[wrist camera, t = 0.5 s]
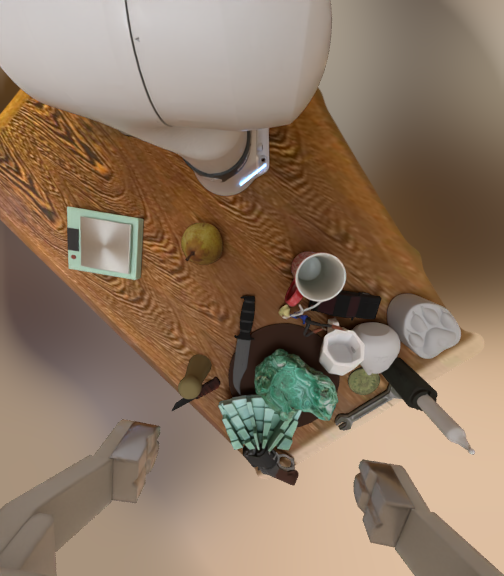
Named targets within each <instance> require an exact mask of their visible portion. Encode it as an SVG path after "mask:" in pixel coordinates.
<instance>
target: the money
mask: <svg viewBox="0 0 504 576" xmlns="http://www.w3.org/2000/svg"><path fill="white" fill-rule="evenodd" d="M218 406H219V409H220V411H221V413H222V415H223V419H222V421H223V423H224V425H225V427H226V431H227V433H228V435H229V438H230V440H231V444H232V446H233V448H234V450H236V449H240V448H243V444H245V445H246V446H247V448H248V449H255V445H256V446H257V449H258V450H260V449H259V442H262V448H265V446H266V444H267V445H268V451H272V449H273V448H274V447H275V446H277V449H284V450H289V448H290V446H291V444H292V436H293V434H294V432H295V429H296V427H297V425H298V418H299V416H300V414H301V412H302V411H301V410H298V412H297V413H295V414H294V416H293V417H292V418H291V419H289V420H288V421H287V422H286V421H282V420H281V419H280V418H279V416H278V413H277V412H276V411H274V410H272V409H271V408H270V407H269V406H268V405H267V404H266V403H265V401H264V400H263V398H262V397H261V396H259V395H248V396H247V395H245V396H238V397H233V398H231V399H228V400H224V401H221V402H219V405H218Z"/></svg>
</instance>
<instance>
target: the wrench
mask: <svg viewBox="0 0 504 576" xmlns="http://www.w3.org/2000/svg"><path fill="white" fill-rule="evenodd" d="M393 398H398V399H402V398H401V397H400V395H399V394H398V393H397V392H396V391H395V389H394V388H393V387H392V386H391V384H390V383H389V386H388V389H387V391H385V392H384V393H382V394H380V395H379V396H377V397H375V398H374V399H372V400H370V401H369V402H367V403H365V404H364V405H362V406H360V407H359V408H357V409H355V410H354V411H352V412H351V413H349V414H347V415H345V414H339V415H338V416H337V417H336V418H335V423H336V425H338V424H339V423H341V422H345V423H344V424H342V425H340V426H339V429H340V430H348V429H351V426H352V423H353V422H354V421H356V420H358V419H359V418H361V417H363V416H364V415H366V414H368V413H369V412H371V411H373V410H374V409H376V408H378V407H379V406H381V405H383V404H384V403H386V402H388V401H390V400H391V399H393Z"/></svg>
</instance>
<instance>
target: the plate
mask: <svg viewBox="0 0 504 576" xmlns="http://www.w3.org/2000/svg"><path fill="white" fill-rule="evenodd" d="M304 329H305V328H304V327H301V326H298V325H293V324H275V325H270V326H266V327H264V328H262V329H259V330H257V331H255V332H254V333H253V334H251V335H250V337H251V338H254V339H255V340H251V342H250V349H249V356H248V363H247V369H246V371H245V373H244V374H243V376H242V379H241V382H240V394H239V393H238V391H237V390H236V389H235V387H234V384H233V369H234V362H235V354H236V352H235V353H234V355H233V358H232V361H231V363H230V368H229V374H228V375H229V387H230V391H231V394H232V397H238V396H245V395H247V396H248V395H257V393H256V388H255V383H254V381H255V368H256V366H258V365H259V364H260V363H261V362H263V361H264V359H265V358H266V357H268V356H270V355H272V354H273V353H274V352H275V351H276V350H278V349H283V350H285V351H287V352H288V354H295V355H297V356H299V357H300V359H301V360H303V361H304V362H305V363H306V364H307V365H308V366H310V367H311V368H314V369H316V370H317V371H320V372H322V373H323V374H324V375H325V376H327V377H329V379H330V380H331V381H332V382H333V384H334V385H335V388H336V393H337V391H338V386H339V375H337V374H331V373H328V372H327V371H326V369H325V368H324V367H323V366H322V365H321V363H320V362H319V357H320V350H321V346H322V343H323V339H322V338H321V337H320V336H318V335H317V334H315V333H313V334H311V335H310V336H308V337H305V336H304V335H303V332H304ZM309 332H311V330H309V329H308V330H307V332H306V333H305V334H306V335H307V334H308V333H309ZM316 419H318V417H316V416H315V415H314V414H313V413H311V412H303V411H302V412H301V414H300V416H299V418H298V425H297V427H301V426H303V425H306V424H309V423H311V422H312V421H314V420H316Z"/></svg>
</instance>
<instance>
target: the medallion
mask: <svg viewBox="0 0 504 576" xmlns="http://www.w3.org/2000/svg"><path fill="white" fill-rule="evenodd" d="M379 383H380V377H379V375H378V374H374V373H372V374H371V375H368V374H367V373H366V372H365V370H364V369H363V368H358V369H357V370H355V371H353V372H352V373H351V374H350V376H349V378H348V384H349V387H350V389H351V390H352V391H353V392H355V393H357V394H360V395H366V394H370V393H371V392H373V391H374V390H375V389H376V388H377V386H378V385H379Z"/></svg>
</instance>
